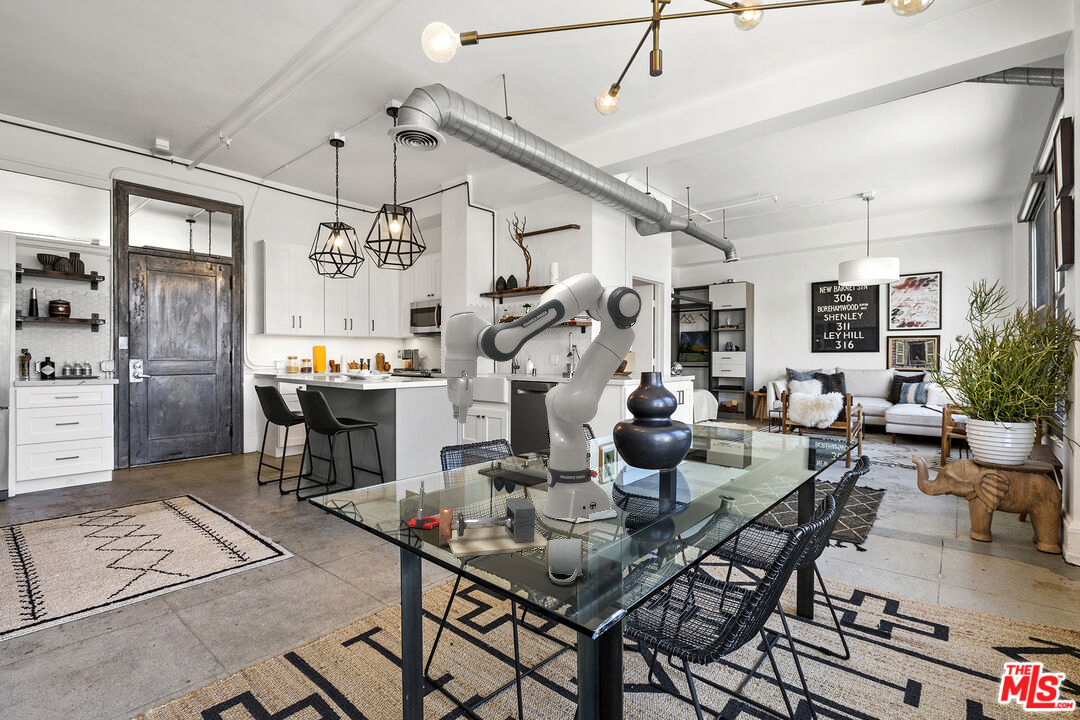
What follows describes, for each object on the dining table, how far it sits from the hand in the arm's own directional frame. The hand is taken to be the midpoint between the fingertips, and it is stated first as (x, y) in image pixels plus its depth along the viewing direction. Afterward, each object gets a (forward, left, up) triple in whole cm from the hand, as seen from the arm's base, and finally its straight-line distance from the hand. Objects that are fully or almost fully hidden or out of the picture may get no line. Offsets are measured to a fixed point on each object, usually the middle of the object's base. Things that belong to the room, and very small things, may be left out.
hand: (459, 421), depth 146 cm
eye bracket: (-14, +14, -29) cm, 35 cm away
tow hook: (+8, -4, -29) cm, 31 cm away
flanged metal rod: (-3, +14, -27) cm, 31 cm away
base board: (-8, +14, -29) cm, 33 cm away
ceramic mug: (-18, +38, -29) cm, 51 cm away
